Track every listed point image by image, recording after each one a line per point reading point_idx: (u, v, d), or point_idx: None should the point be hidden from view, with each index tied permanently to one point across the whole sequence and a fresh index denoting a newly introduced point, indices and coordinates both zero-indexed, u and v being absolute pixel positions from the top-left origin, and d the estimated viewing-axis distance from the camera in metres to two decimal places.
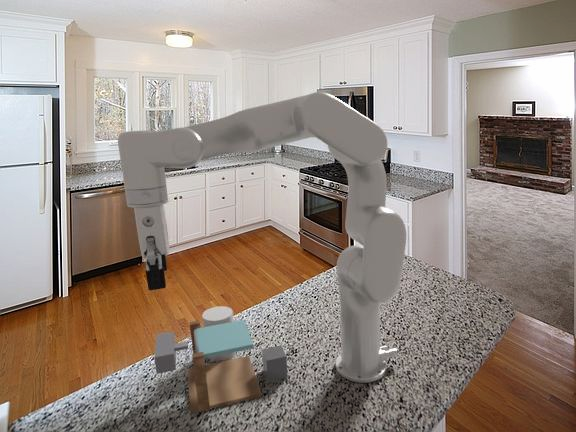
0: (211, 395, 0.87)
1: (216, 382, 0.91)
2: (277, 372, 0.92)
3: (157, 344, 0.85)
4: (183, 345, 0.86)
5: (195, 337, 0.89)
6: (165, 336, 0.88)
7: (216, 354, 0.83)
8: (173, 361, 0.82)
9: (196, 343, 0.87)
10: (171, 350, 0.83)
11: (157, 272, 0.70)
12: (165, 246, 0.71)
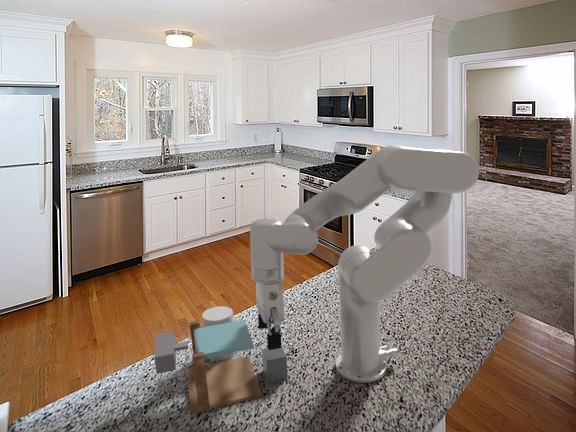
0: (211, 395, 0.87)
1: (216, 382, 0.91)
2: (277, 372, 0.92)
3: (157, 344, 0.85)
4: (183, 345, 0.86)
5: (195, 337, 0.89)
6: (165, 336, 0.88)
7: (216, 354, 0.83)
8: (173, 361, 0.82)
9: (196, 343, 0.87)
10: (171, 350, 0.83)
11: (277, 336, 0.86)
12: (283, 315, 0.86)
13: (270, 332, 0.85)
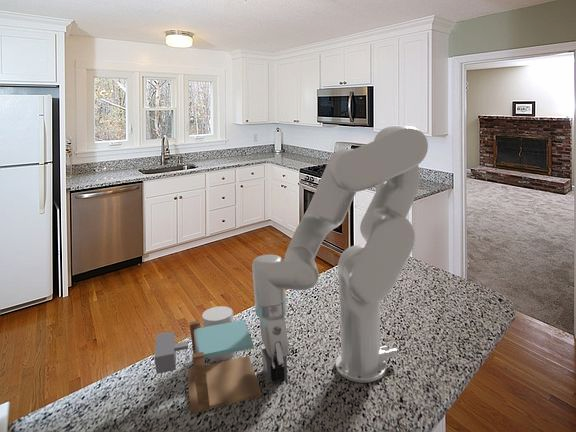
0: (211, 395, 0.87)
1: (216, 382, 0.91)
2: None
3: (157, 344, 0.85)
4: (183, 345, 0.86)
5: (195, 337, 0.89)
6: (165, 336, 0.88)
7: (216, 354, 0.83)
8: (173, 361, 0.82)
9: (196, 343, 0.87)
10: (171, 350, 0.83)
11: (280, 368, 0.90)
12: (288, 348, 0.88)
13: (273, 366, 0.89)
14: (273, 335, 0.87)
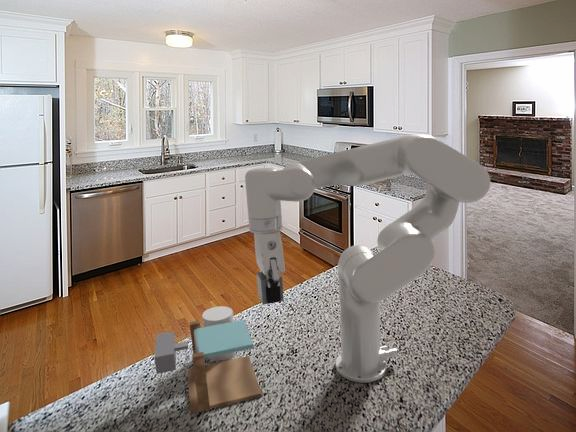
0: (211, 395, 0.87)
1: (216, 382, 0.91)
2: None
3: (157, 344, 0.85)
4: (183, 345, 0.86)
5: (195, 337, 0.89)
6: (165, 336, 0.88)
7: (216, 354, 0.83)
8: (173, 361, 0.82)
9: (196, 343, 0.87)
10: (171, 350, 0.83)
11: (276, 288, 0.85)
12: (283, 265, 0.84)
13: (269, 285, 0.84)
14: (268, 250, 0.82)
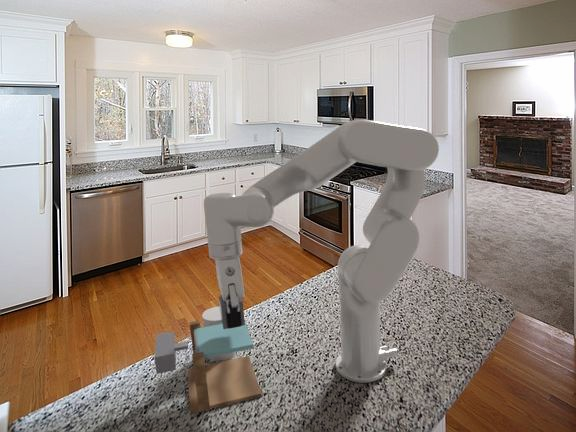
0: (211, 395, 0.87)
1: (216, 382, 0.91)
2: None
3: (157, 344, 0.85)
4: (183, 345, 0.86)
5: (195, 337, 0.89)
6: (165, 336, 0.88)
7: (216, 354, 0.83)
8: (173, 361, 0.82)
9: (196, 343, 0.87)
10: (171, 350, 0.83)
11: (236, 314, 0.85)
12: (243, 291, 0.83)
13: (228, 311, 0.84)
14: (226, 276, 0.81)
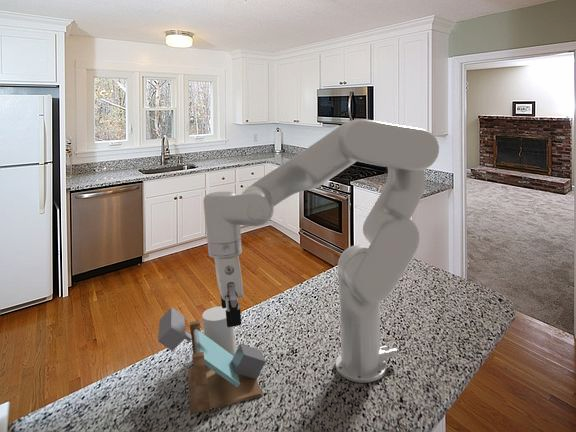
0: (211, 395, 0.87)
1: (216, 382, 0.91)
2: (247, 365, 0.90)
3: (172, 317, 0.85)
4: (188, 336, 0.86)
5: (197, 337, 0.90)
6: (178, 315, 0.88)
7: (211, 367, 0.83)
8: (178, 343, 0.81)
9: (198, 343, 0.87)
10: (183, 332, 0.83)
11: (235, 312, 0.83)
12: (242, 290, 0.83)
13: (228, 308, 0.82)
14: (225, 275, 0.81)
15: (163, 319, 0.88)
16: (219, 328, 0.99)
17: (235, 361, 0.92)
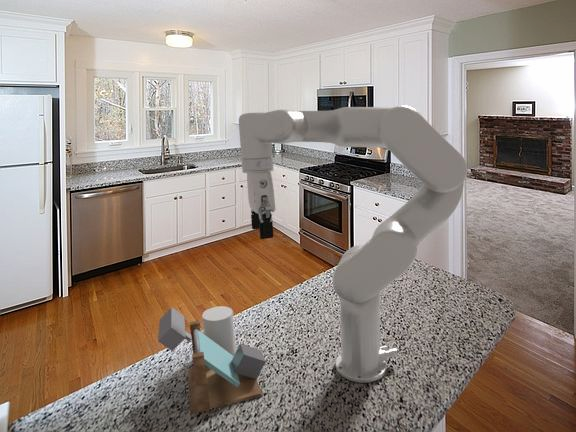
0: (211, 395, 0.87)
1: (216, 382, 0.91)
2: (247, 365, 0.90)
3: (172, 317, 0.85)
4: (188, 336, 0.86)
5: (197, 337, 0.90)
6: (178, 315, 0.88)
7: (211, 367, 0.83)
8: (178, 343, 0.81)
9: (198, 343, 0.87)
10: (183, 332, 0.83)
11: (268, 224, 0.89)
12: (274, 204, 0.90)
13: (262, 219, 0.88)
14: (259, 188, 0.88)
15: (163, 319, 0.88)
16: (219, 328, 0.99)
17: (235, 361, 0.92)
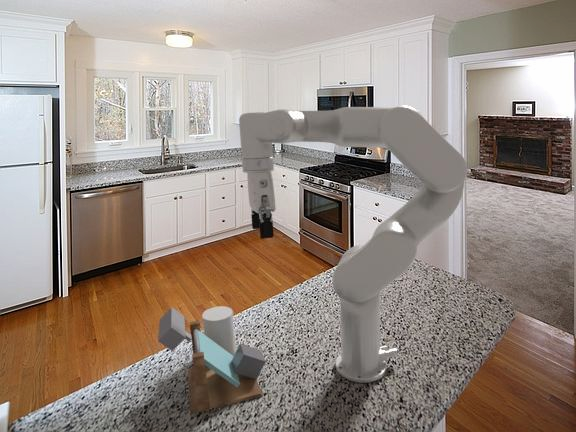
0: (211, 395, 0.87)
1: (216, 382, 0.91)
2: (247, 365, 0.90)
3: (172, 317, 0.85)
4: (188, 336, 0.86)
5: (197, 337, 0.90)
6: (178, 315, 0.88)
7: (211, 367, 0.83)
8: (178, 343, 0.81)
9: (198, 343, 0.87)
10: (183, 332, 0.83)
11: (268, 224, 0.89)
12: (274, 203, 0.90)
13: (262, 219, 0.88)
14: (260, 188, 0.88)
15: (163, 318, 0.88)
16: (219, 328, 0.99)
17: (235, 361, 0.92)
